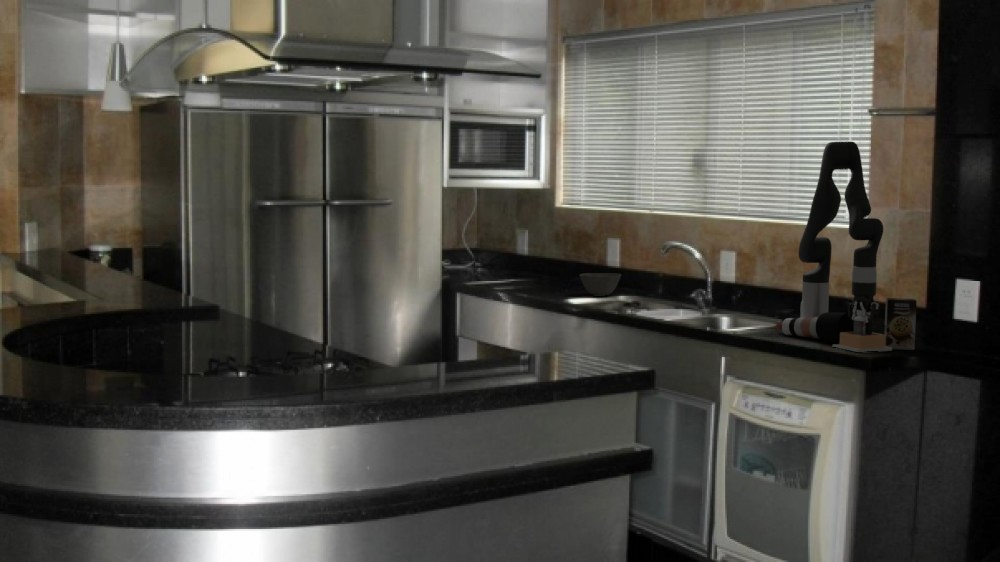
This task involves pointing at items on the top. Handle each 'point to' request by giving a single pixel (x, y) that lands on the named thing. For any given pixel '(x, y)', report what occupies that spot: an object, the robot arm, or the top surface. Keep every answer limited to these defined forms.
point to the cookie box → (900, 323)
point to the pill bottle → (860, 324)
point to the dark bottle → (819, 326)
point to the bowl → (600, 282)
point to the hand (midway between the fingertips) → (862, 332)
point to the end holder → (862, 342)
